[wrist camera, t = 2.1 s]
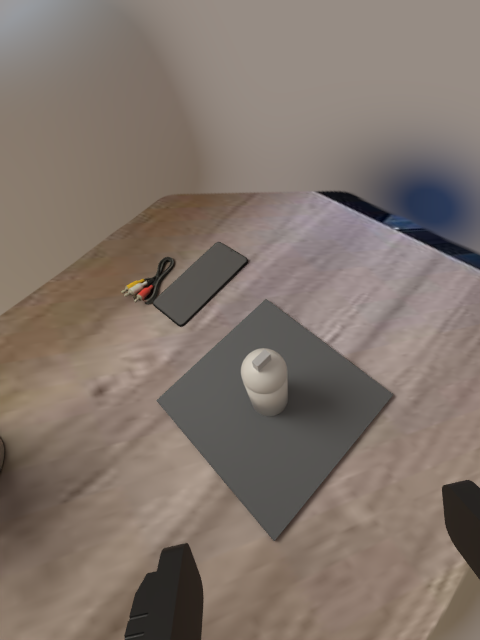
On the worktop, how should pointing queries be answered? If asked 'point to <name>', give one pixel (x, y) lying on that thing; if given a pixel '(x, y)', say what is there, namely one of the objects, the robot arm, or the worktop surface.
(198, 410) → the mat
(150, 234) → the worktop surface
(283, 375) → the white pump bottle
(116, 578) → the worktop surface
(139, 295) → the composite cable
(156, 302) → the smartphone
